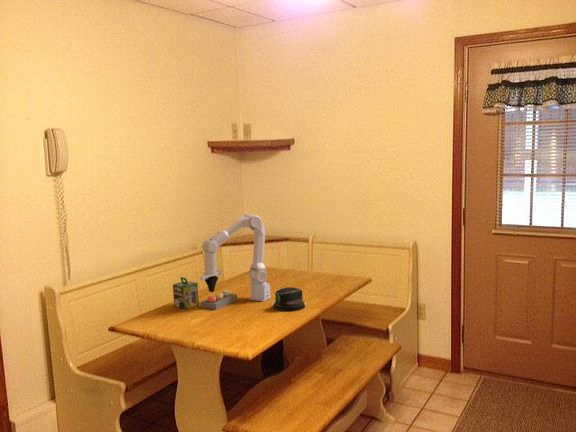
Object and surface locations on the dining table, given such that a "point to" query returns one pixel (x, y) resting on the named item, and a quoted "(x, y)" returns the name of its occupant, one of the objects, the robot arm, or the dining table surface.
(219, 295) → the ochre button
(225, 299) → the grey compartment tray
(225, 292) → the sage button
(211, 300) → the red button
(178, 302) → the chalk box
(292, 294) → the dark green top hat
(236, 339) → the dining table surface
